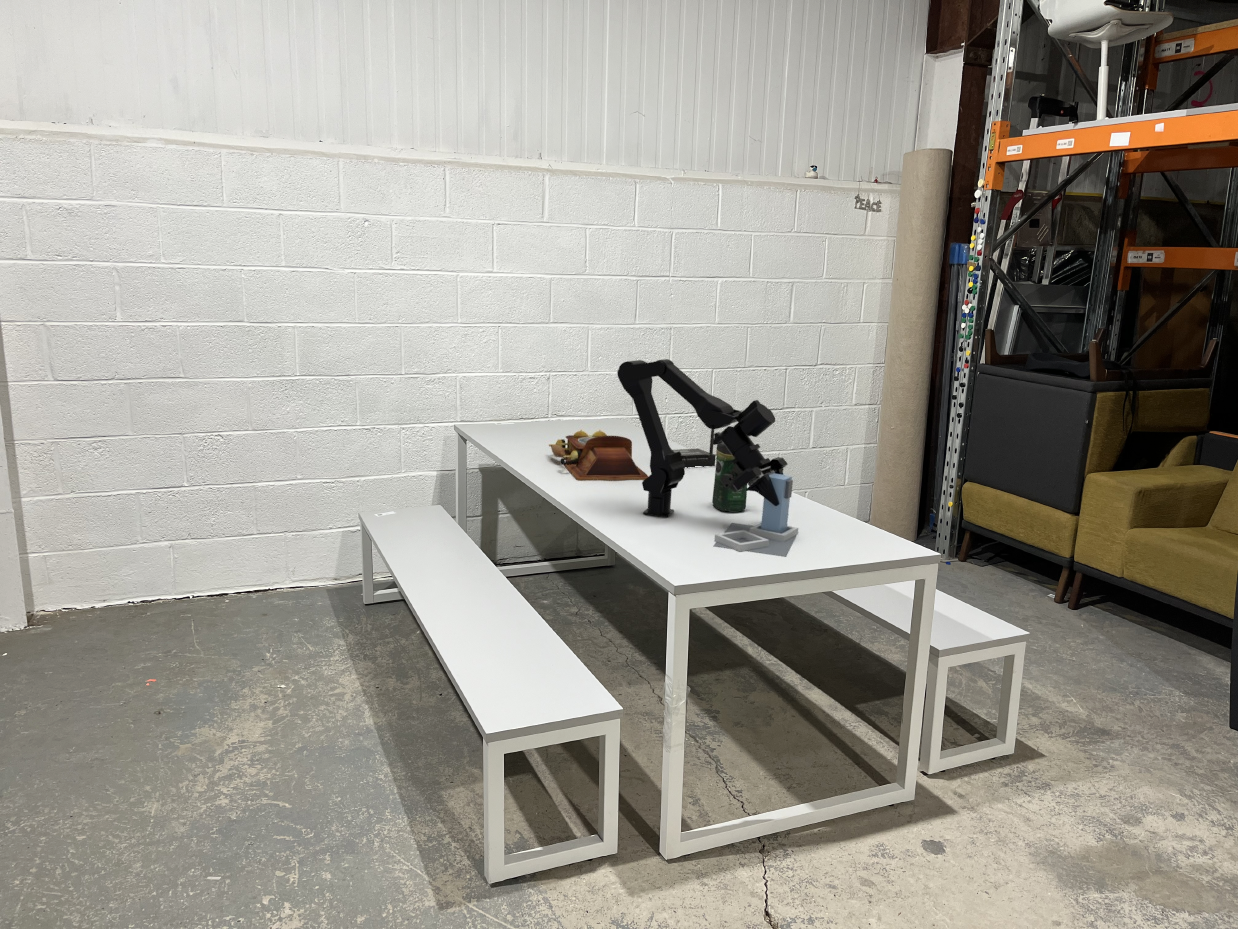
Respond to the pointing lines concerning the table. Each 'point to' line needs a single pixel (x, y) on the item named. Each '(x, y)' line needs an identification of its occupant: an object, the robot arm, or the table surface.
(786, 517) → the plug
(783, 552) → the panel
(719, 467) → the coffee jar
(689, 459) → the dark piece
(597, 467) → the brown wooden toy
